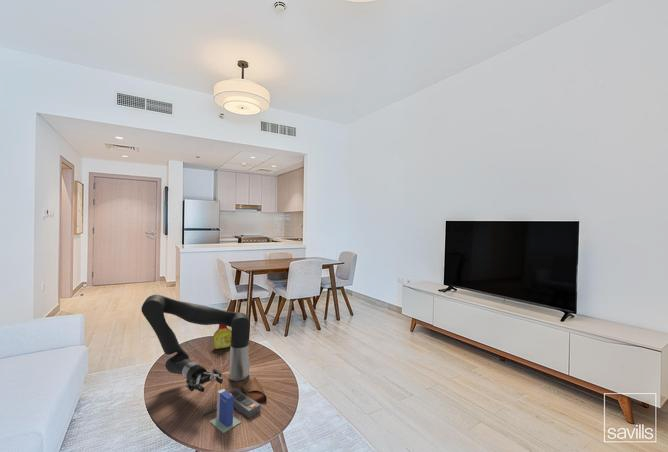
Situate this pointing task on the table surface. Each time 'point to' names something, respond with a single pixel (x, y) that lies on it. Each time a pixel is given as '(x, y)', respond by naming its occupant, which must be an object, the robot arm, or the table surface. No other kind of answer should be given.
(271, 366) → the table surface
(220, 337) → the bottle
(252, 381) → the sunglasses case
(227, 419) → the walkman
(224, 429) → the mat
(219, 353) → the table surface
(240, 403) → the power strip
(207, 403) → the table surface
